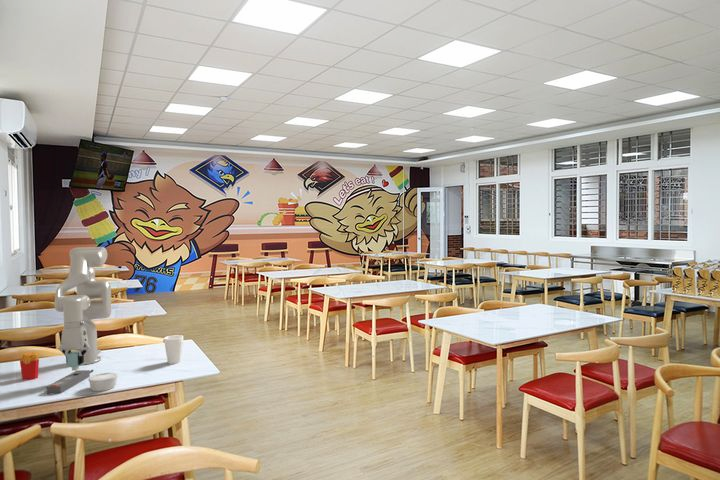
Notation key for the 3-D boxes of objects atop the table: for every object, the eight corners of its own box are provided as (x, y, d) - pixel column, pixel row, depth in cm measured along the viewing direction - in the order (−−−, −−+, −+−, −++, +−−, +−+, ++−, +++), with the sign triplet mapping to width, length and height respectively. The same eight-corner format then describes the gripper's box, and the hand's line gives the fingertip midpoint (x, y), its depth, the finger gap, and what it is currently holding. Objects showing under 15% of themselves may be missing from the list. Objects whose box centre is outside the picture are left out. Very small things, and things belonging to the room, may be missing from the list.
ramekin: (111, 382, 216) (110, 370, 216) (122, 387, 209) (122, 375, 209) (84, 388, 207) (84, 377, 207) (95, 394, 200) (94, 382, 200)
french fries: (18, 379, 221) (17, 354, 220) (25, 376, 225) (24, 351, 224) (36, 379, 220) (35, 354, 220) (42, 377, 224) (41, 351, 224)
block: (73, 368, 220) (72, 351, 220) (83, 368, 220) (82, 351, 220) (67, 371, 216) (66, 354, 215) (77, 371, 216) (76, 354, 215)
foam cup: (183, 363, 242) (183, 338, 242) (164, 365, 239) (163, 340, 239) (184, 358, 251) (183, 334, 251) (165, 360, 248) (164, 336, 248)
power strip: (86, 371, 232) (86, 364, 232) (98, 371, 232) (98, 363, 232) (46, 393, 202) (46, 385, 202) (60, 393, 202) (60, 385, 202)
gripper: (96, 322, 221) (98, 361, 222) (60, 323, 221) (61, 361, 221) (87, 326, 213) (89, 366, 214) (49, 326, 213) (51, 366, 214)
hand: (75, 363), depth 218 cm, fingers closed on block, 4 cm apart
